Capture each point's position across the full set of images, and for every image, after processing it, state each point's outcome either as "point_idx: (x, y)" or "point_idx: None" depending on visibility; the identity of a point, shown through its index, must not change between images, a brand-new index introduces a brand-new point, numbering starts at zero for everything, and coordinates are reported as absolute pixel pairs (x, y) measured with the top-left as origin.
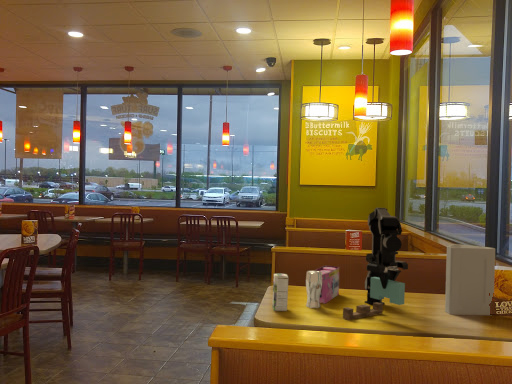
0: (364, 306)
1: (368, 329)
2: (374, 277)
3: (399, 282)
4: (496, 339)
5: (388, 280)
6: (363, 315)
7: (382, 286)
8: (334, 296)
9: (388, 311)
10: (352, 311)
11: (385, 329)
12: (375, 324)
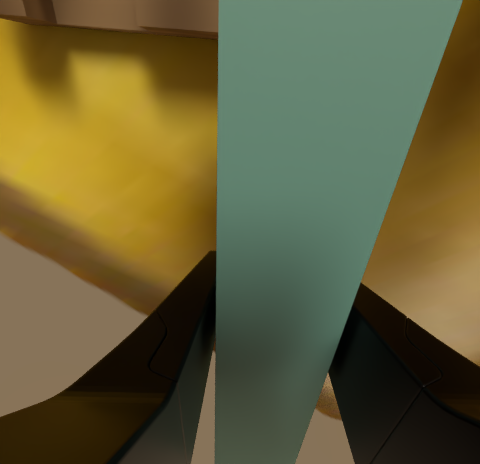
0: (182, 13)
1: (45, 210)
2: (335, 23)
3: (276, 443)
4: (334, 413)
5: (273, 359)
6: (174, 34)
7: (200, 263)
8: None
9: (456, 37)
10: (30, 19)
11: (122, 245)
12: (133, 179)
